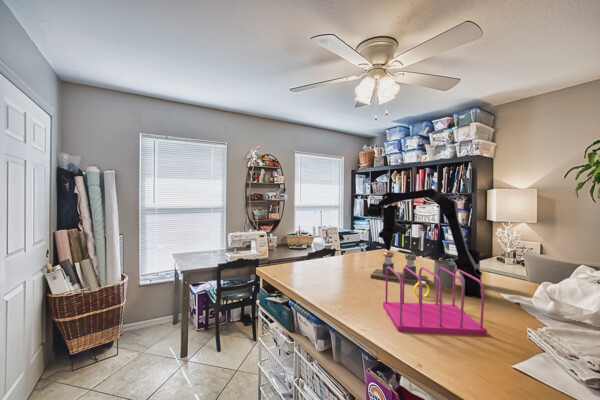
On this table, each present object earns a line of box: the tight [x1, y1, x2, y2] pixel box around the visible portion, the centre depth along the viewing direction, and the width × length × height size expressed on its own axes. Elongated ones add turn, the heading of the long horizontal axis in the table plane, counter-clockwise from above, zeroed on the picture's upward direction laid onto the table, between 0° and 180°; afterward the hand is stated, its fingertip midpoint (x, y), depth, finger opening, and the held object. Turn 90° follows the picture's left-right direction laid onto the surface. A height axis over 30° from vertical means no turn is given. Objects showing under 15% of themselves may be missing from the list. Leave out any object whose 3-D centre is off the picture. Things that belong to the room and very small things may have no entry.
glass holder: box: [457, 249, 481, 285], centre depth 119 cm, size 9×14×15 cm, turn 137°
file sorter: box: [382, 266, 487, 336], centre depth 85 cm, size 17×25×16 cm
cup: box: [433, 259, 456, 289], centre depth 119 cm, size 8×8×10 cm
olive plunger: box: [405, 253, 417, 268], centre depth 124 cm, size 5×5×6 cm
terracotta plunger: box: [383, 251, 395, 265], centre depth 128 cm, size 5×5×6 cm
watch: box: [413, 281, 431, 298], centre depth 104 cm, size 6×3×6 cm, turn 94°
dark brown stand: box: [370, 261, 428, 288], centre depth 126 cm, size 12×24×6 cm, turn 62°
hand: (388, 250), depth 128 cm, fingers closed
